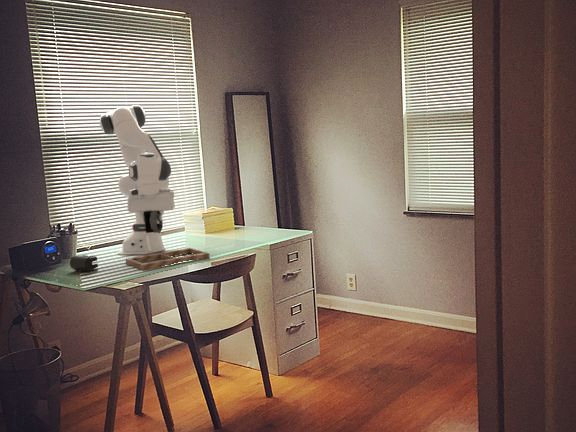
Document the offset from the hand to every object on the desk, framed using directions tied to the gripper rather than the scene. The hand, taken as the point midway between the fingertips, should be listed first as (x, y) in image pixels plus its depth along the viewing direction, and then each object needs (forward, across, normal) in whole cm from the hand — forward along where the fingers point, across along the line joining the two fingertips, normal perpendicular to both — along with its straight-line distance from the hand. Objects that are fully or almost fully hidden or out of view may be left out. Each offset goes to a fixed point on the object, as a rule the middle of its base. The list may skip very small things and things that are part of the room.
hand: (152, 221), depth 272 cm
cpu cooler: (+5, -1, 0) cm, 5 cm away
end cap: (+19, +29, +8) cm, 36 cm away
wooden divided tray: (+19, -5, -3) cm, 20 cm away
